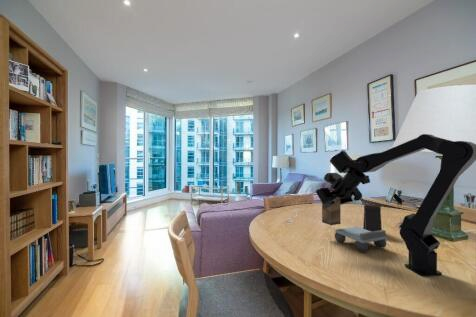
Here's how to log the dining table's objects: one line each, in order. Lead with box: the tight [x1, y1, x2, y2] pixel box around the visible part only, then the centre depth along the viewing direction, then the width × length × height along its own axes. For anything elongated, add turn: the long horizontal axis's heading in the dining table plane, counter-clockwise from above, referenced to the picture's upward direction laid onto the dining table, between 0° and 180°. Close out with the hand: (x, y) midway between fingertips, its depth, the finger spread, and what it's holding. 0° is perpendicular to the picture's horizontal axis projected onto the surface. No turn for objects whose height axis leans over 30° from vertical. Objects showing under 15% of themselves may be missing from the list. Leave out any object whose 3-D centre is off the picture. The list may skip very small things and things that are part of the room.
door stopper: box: [362, 204, 383, 232], centre depth 107 cm, size 9×6×12 cm, turn 160°
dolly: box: [334, 226, 387, 253], centre depth 93 cm, size 14×11×6 cm
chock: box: [321, 198, 342, 226], centre depth 100 cm, size 5×5×11 cm
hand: (328, 206), depth 102 cm, fingers closed on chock, 5 cm apart
